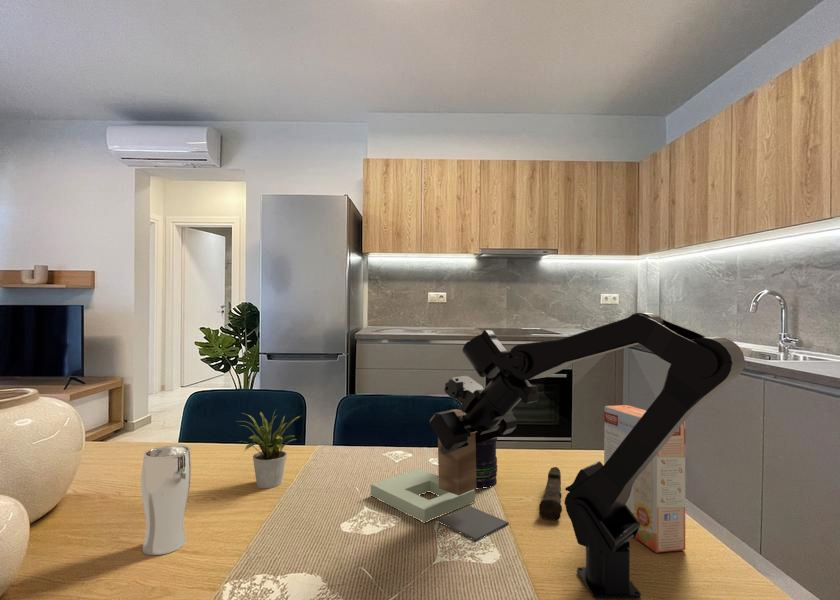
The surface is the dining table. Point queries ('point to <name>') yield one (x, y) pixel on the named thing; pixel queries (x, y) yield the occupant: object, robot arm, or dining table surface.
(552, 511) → the hand tool
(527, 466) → the dining table surface
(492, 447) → the storage jar
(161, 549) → the beer glass
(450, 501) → the square socket block
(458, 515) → the rubber mat
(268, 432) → the house plant
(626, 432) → the cracker box
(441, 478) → the wooden block
